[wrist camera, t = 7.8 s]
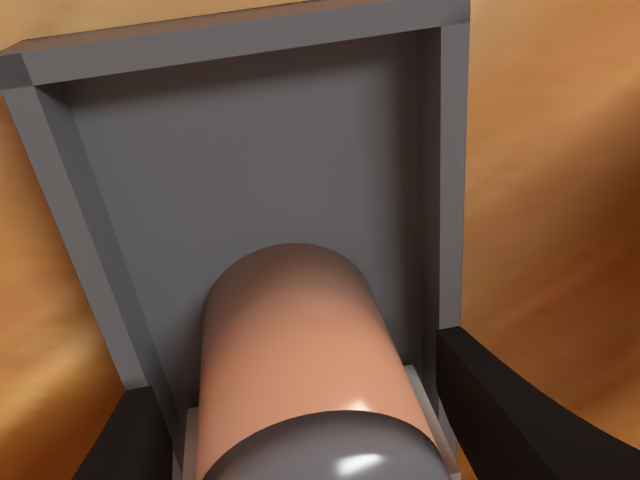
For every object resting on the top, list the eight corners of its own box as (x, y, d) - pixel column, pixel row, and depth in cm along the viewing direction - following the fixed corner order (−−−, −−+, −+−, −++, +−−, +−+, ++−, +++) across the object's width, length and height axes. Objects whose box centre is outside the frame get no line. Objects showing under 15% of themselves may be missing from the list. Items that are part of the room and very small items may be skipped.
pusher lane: (435, -18, 12) (552, 5, 8) (435, 534, 23) (483, 670, 19) (23, 40, 11) (-101, 99, 7) (226, 582, 22) (227, 734, 18)
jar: (367, 229, 15) (469, 430, 8) (376, 363, 17) (460, 593, 11) (185, 260, 14) (156, 495, 8) (222, 393, 17) (221, 649, 11)
